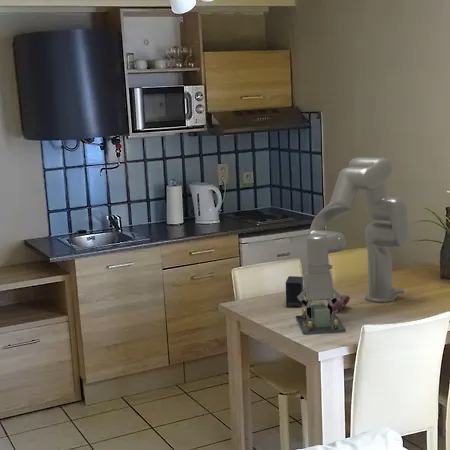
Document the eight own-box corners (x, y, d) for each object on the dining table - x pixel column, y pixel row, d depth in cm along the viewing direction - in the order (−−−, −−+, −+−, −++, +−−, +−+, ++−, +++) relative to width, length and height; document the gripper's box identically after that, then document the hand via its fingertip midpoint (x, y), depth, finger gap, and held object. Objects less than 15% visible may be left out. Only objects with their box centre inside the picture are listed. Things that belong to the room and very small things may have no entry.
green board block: (323, 317, 267) (322, 302, 266) (330, 326, 257) (329, 310, 256) (310, 318, 267) (309, 303, 266) (316, 327, 256) (316, 311, 255)
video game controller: (337, 317, 276) (344, 302, 273) (327, 310, 278) (334, 296, 275) (346, 310, 284) (353, 295, 281) (336, 304, 286) (343, 289, 283)
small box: (302, 307, 286) (301, 282, 284) (285, 307, 287) (284, 282, 285) (304, 300, 296) (303, 275, 294) (288, 300, 297) (287, 275, 296)
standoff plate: (335, 315, 272) (334, 305, 271) (345, 332, 252) (345, 321, 252) (295, 318, 272) (295, 308, 271) (303, 334, 252) (303, 323, 251)
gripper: (339, 265, 262) (341, 312, 265) (292, 268, 262) (294, 315, 265) (343, 269, 255) (345, 318, 258) (295, 272, 255) (297, 321, 258)
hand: (319, 316), depth 261 cm, fingers open, 6 cm apart
